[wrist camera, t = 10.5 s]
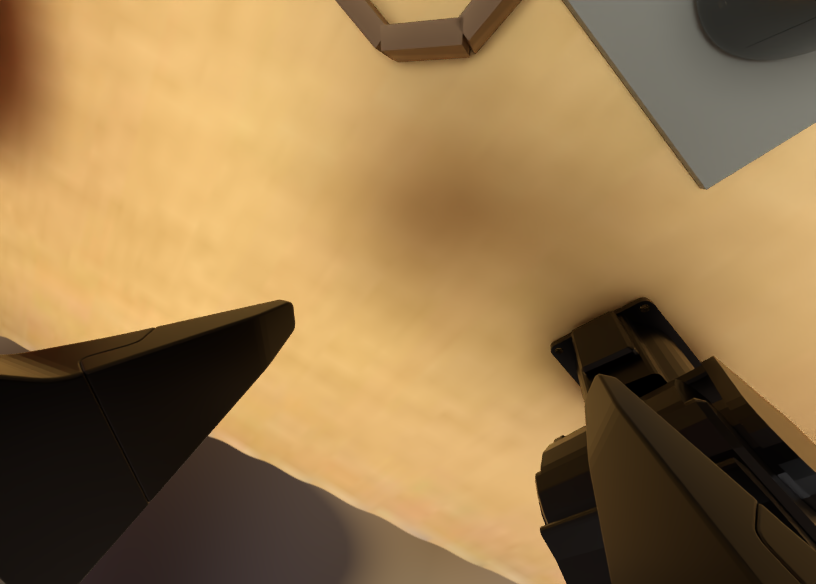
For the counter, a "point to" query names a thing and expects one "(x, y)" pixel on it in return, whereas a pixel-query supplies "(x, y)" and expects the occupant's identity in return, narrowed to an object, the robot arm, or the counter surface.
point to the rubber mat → (700, 84)
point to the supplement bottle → (760, 27)
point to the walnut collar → (430, 30)
